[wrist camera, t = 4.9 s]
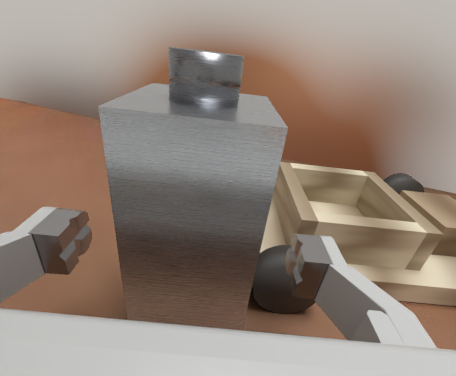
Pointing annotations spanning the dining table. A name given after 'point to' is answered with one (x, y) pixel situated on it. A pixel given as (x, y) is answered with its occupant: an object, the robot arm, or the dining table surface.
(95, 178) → the dining table surface
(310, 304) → the chassis
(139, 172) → the silver tall block
